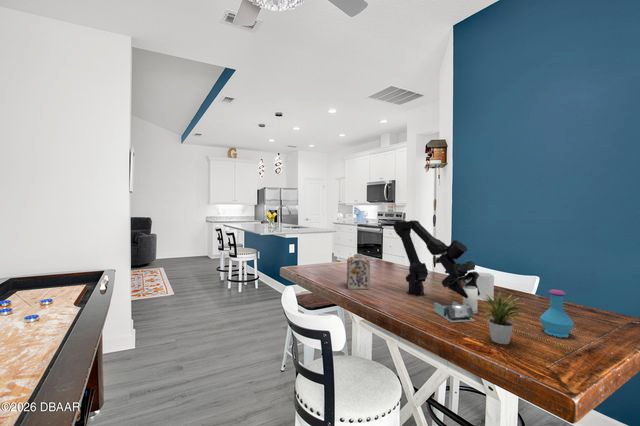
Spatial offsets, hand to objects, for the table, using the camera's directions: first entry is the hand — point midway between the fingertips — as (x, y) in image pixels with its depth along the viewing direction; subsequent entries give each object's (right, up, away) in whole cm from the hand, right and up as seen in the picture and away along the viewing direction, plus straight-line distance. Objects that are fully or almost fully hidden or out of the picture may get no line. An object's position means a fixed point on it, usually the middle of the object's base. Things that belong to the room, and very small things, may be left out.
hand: (473, 296), depth 124 cm
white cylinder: (-1, -7, +1) cm, 7 cm away
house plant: (-6, -7, -28) cm, 29 cm away
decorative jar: (-43, -6, +40) cm, 59 cm away
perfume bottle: (+18, -7, -20) cm, 29 cm away
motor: (-10, -7, -4) cm, 13 cm away
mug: (+14, -7, +20) cm, 25 cm away
